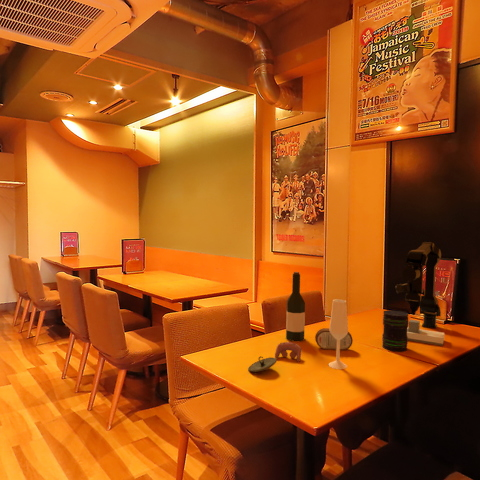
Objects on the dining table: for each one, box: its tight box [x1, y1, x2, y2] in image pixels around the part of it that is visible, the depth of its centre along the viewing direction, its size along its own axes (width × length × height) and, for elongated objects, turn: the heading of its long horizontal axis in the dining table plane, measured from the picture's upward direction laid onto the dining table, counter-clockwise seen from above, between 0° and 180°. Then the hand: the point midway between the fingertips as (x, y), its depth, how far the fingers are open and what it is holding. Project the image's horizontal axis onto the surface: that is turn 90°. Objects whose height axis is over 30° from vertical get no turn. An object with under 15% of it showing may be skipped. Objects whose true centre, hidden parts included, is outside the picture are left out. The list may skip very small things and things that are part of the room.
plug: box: [408, 319, 421, 333], centre depth 174 cm, size 4×4×7 cm
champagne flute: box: [328, 298, 349, 370], centre depth 139 cm, size 7×7×24 cm
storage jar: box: [381, 309, 409, 353], centre depth 160 cm, size 10×10×15 cm
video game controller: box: [274, 341, 302, 363], centre depth 147 cm, size 10×5×7 cm, turn 72°
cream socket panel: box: [407, 327, 445, 347], centre depth 174 cm, size 9×24×4 cm, turn 58°
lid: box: [248, 356, 278, 373], centre depth 134 cm, size 11×10×5 cm
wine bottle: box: [285, 271, 306, 342], centre depth 170 cm, size 8×8×30 cm
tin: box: [314, 327, 354, 351], centre depth 157 cm, size 15×3×8 cm, turn 84°
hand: (414, 312), depth 173 cm, fingers open, 9 cm apart
